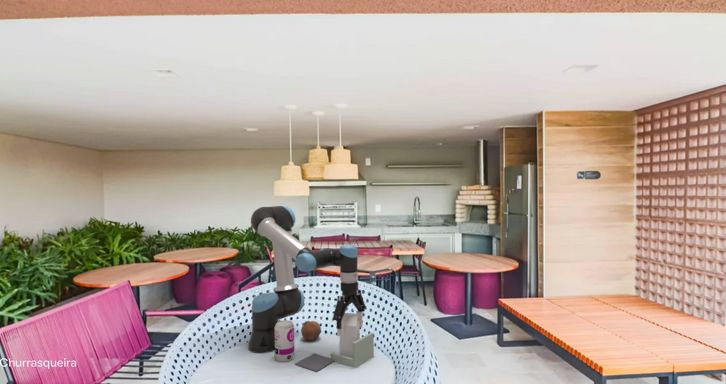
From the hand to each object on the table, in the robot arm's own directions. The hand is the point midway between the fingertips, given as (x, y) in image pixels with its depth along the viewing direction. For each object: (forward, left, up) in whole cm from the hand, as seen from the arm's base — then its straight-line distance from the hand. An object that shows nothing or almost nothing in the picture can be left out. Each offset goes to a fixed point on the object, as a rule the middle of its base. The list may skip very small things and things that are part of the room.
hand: (350, 331), depth 163 cm
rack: (+1, 0, -11) cm, 11 cm away
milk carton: (0, 0, -12) cm, 12 cm away
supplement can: (-23, -16, -12) cm, 31 cm away
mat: (-9, -12, -11) cm, 19 cm away
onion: (-28, +6, -12) cm, 31 cm away
